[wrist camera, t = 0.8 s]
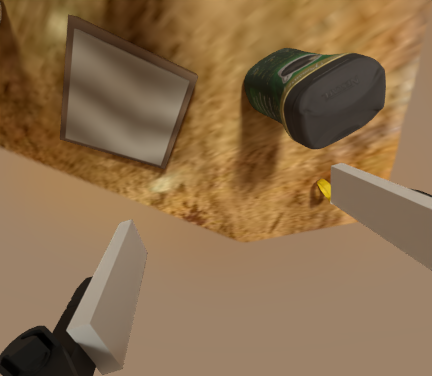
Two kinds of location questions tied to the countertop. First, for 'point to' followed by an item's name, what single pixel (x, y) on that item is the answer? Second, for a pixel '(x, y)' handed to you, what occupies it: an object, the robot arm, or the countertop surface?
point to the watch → (325, 188)
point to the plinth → (121, 96)
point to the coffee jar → (317, 93)
